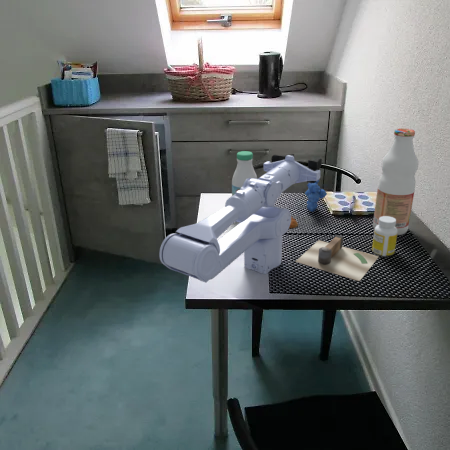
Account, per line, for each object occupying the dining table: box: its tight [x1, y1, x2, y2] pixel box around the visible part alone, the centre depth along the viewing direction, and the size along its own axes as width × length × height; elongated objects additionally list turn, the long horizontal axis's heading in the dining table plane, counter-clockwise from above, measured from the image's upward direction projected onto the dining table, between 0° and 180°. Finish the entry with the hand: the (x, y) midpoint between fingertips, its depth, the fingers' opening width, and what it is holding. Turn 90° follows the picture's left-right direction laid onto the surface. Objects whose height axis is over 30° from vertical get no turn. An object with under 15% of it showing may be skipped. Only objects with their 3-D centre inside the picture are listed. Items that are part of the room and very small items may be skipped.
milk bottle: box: [231, 150, 258, 196], centre depth 130 cm, size 8×8×20 cm
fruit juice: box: [372, 127, 419, 236], centre depth 118 cm, size 9×9×28 cm
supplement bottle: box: [371, 216, 398, 257], centre depth 109 cm, size 5×5×10 cm
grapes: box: [304, 179, 328, 213], centre depth 134 cm, size 12×7×12 cm, turn 172°
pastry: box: [289, 215, 299, 229], centre depth 127 cm, size 9×7×4 cm
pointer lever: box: [318, 234, 344, 264], centre depth 108 cm, size 11×3×3 cm, turn 145°
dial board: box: [295, 239, 380, 282], centre depth 108 cm, size 14×16×1 cm
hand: (306, 159), depth 113 cm, fingers open, 7 cm apart
